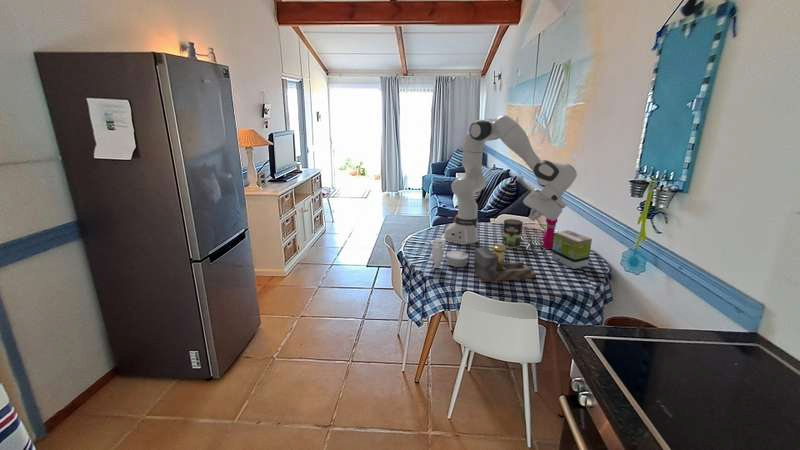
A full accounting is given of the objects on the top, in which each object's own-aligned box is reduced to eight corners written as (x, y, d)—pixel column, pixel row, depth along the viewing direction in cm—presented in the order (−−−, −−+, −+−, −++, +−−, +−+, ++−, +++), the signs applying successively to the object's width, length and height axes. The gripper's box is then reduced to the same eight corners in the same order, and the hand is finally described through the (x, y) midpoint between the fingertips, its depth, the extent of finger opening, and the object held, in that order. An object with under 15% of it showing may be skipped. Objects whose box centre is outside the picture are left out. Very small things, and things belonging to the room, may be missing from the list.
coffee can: (519, 249, 208) (522, 225, 204) (500, 246, 212) (502, 223, 208) (521, 243, 217) (523, 220, 213) (503, 241, 221) (505, 218, 217)
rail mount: (482, 282, 169) (484, 258, 165) (473, 271, 180) (475, 248, 176) (536, 278, 172) (539, 254, 169) (524, 268, 184) (526, 245, 180)
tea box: (550, 258, 195) (553, 232, 190) (564, 255, 199) (568, 229, 194) (573, 269, 182) (577, 241, 177) (588, 266, 185) (592, 238, 181)
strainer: (445, 270, 182) (446, 241, 177) (431, 271, 181) (432, 242, 177) (443, 264, 188) (443, 236, 184) (429, 265, 188) (429, 237, 183)
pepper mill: (556, 249, 207) (560, 214, 201) (542, 248, 209) (546, 214, 203) (554, 245, 214) (558, 211, 208) (540, 244, 215) (544, 210, 209)
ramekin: (471, 268, 185) (471, 258, 183) (449, 269, 183) (449, 259, 181) (463, 259, 195) (464, 250, 194) (443, 260, 193) (443, 251, 192)
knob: (493, 274, 172) (495, 249, 168) (488, 269, 177) (490, 245, 174) (506, 273, 173) (508, 248, 169) (500, 268, 178) (502, 244, 175)
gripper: (531, 185, 181) (513, 207, 183) (562, 200, 164) (541, 225, 166) (538, 191, 184) (520, 213, 186) (568, 207, 167) (549, 231, 169)
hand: (530, 219), depth 176 cm, fingers closed
